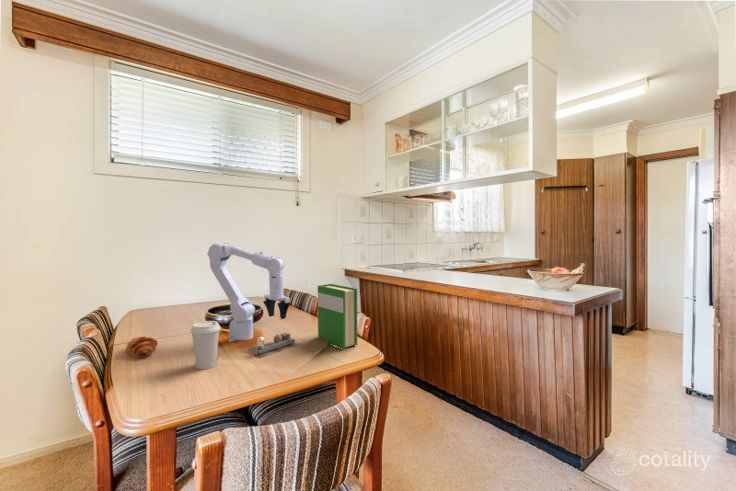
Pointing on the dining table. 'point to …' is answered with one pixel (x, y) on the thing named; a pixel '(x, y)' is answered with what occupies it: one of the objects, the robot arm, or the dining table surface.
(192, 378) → the dining table surface
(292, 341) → the lever
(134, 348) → the croissant
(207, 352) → the coffee cup
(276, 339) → the tan wooden ball
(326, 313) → the hardback book
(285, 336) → the base
